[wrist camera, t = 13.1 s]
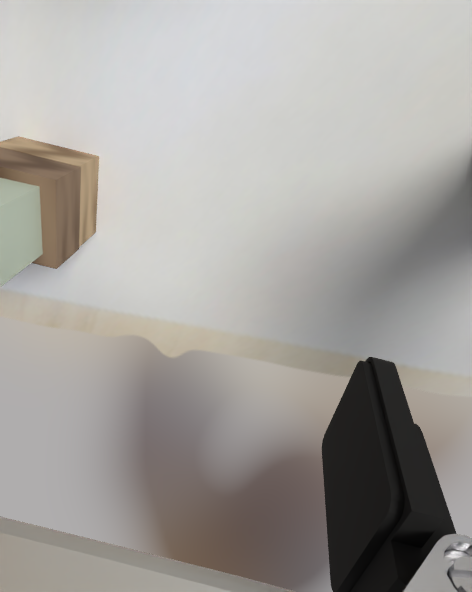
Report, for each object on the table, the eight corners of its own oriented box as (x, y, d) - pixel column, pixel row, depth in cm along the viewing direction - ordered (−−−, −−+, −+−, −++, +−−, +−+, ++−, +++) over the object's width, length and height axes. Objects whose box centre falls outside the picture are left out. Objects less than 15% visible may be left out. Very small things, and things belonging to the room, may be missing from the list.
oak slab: (99, 155, 41) (79, 166, 37) (96, 231, 45) (77, 248, 41) (19, 136, 41) (-10, 144, 37) (23, 213, 45) (-3, 228, 41)
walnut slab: (80, 167, 37) (56, 180, 34) (79, 248, 41) (56, 268, 38) (-8, 145, 37) (-43, 155, 34) (-1, 229, 41) (-32, 247, 38)
